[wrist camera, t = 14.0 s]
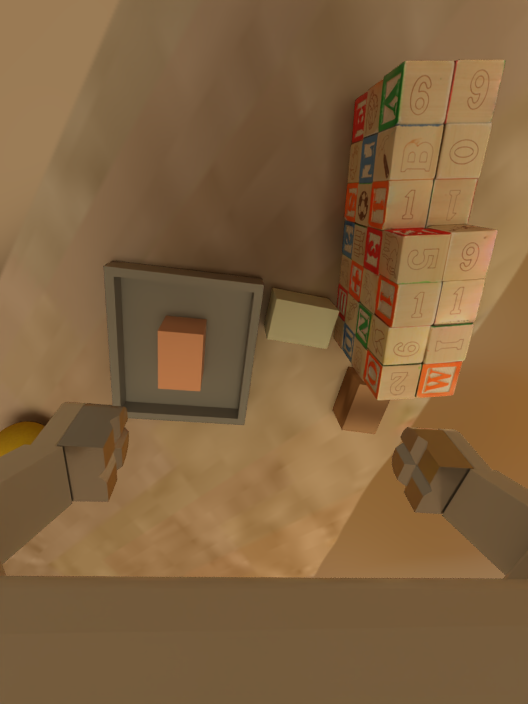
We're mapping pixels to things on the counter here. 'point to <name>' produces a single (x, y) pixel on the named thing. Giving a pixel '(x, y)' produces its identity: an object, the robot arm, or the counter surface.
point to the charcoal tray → (191, 302)
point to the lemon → (18, 436)
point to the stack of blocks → (415, 226)
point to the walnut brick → (358, 405)
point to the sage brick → (300, 318)
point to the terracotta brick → (181, 353)
